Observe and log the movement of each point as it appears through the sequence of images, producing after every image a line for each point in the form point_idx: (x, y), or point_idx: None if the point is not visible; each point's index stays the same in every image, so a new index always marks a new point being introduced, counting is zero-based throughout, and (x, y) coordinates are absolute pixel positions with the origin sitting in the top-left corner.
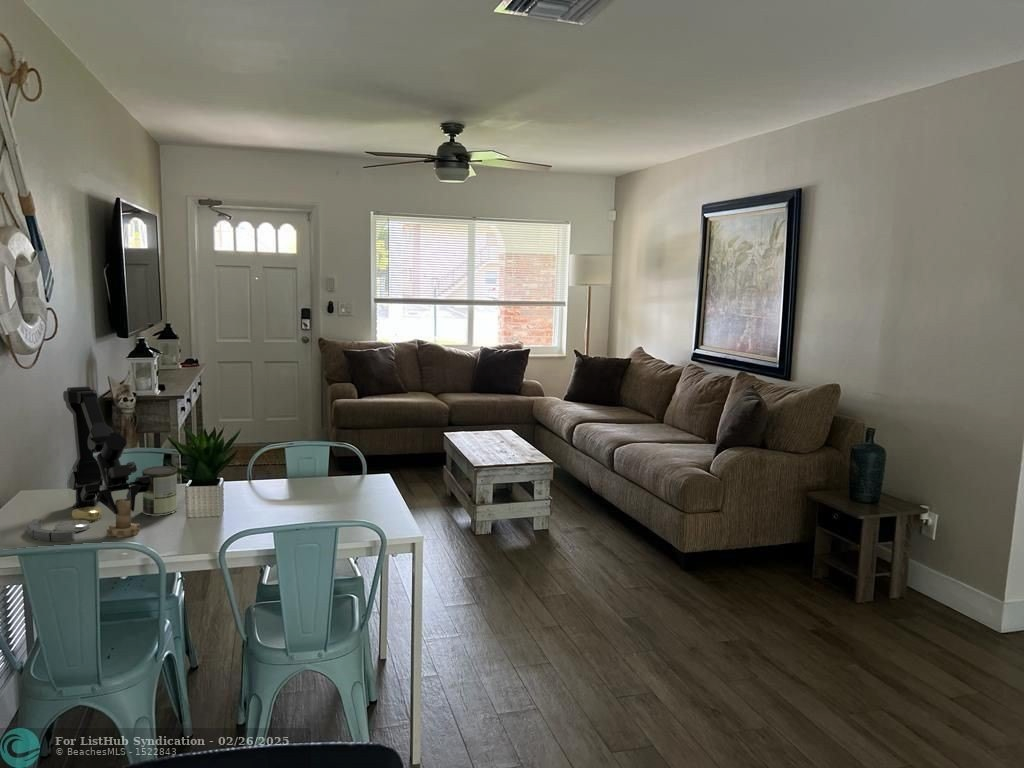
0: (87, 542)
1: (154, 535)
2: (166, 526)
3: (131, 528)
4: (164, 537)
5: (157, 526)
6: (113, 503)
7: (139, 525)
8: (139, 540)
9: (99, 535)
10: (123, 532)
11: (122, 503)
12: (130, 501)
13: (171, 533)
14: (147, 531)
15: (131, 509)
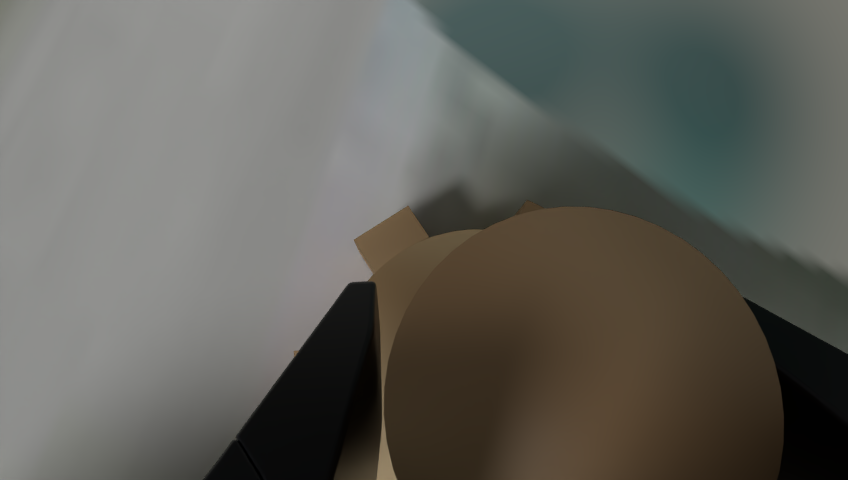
0: (831, 274)
1: (244, 122)
2: (23, 336)
3: (424, 249)
4: (192, 17)
5: (100, 393)
6: (821, 376)
7: None
8: (408, 63)
9: None
10: (520, 212)
11: (629, 226)
12: (404, 315)
13: (89, 88)
14: (253, 281)
15: (380, 355)
